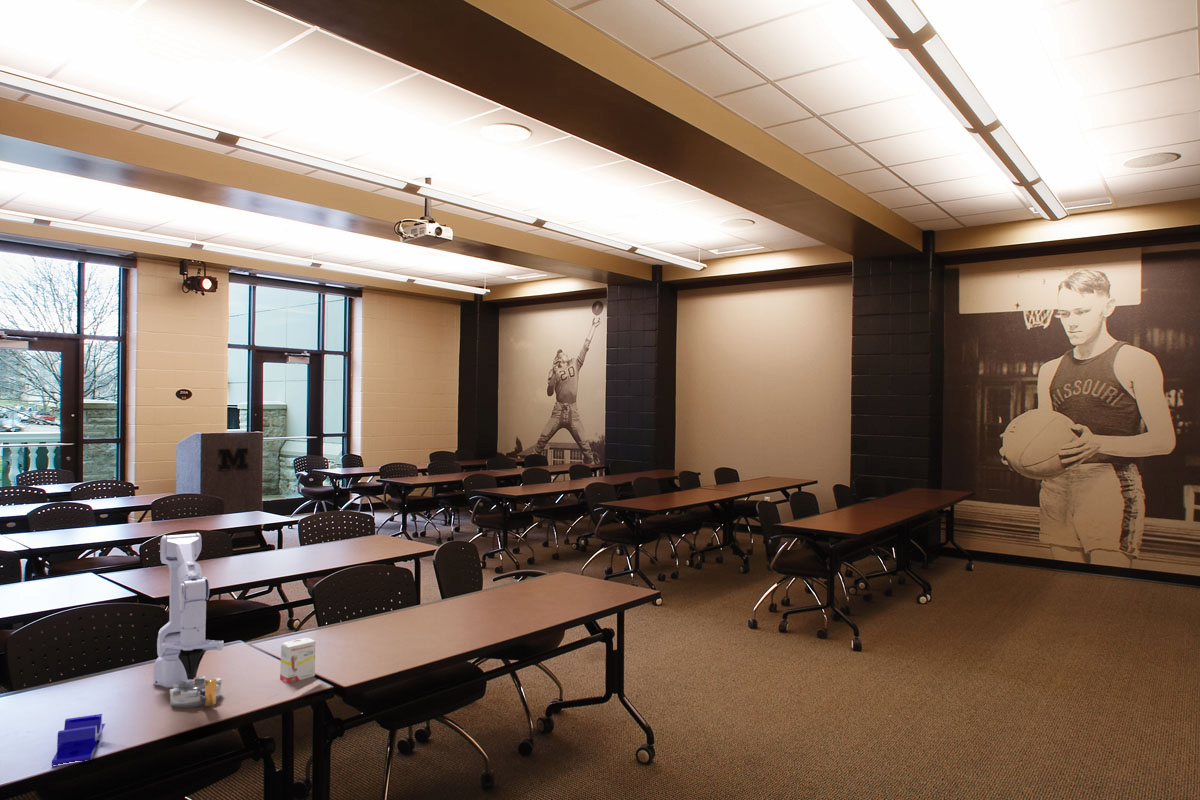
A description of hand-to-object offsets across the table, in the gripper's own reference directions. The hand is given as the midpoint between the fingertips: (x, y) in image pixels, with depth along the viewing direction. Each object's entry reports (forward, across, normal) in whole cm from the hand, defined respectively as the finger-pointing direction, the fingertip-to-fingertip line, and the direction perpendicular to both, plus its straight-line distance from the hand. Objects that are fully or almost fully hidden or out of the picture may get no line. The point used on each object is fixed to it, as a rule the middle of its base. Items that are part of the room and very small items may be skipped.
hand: (191, 678), depth 187 cm
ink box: (+10, +21, +21) cm, 32 cm away
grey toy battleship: (+8, 0, +6) cm, 10 cm away
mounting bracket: (+10, -19, -15) cm, 26 cm away
